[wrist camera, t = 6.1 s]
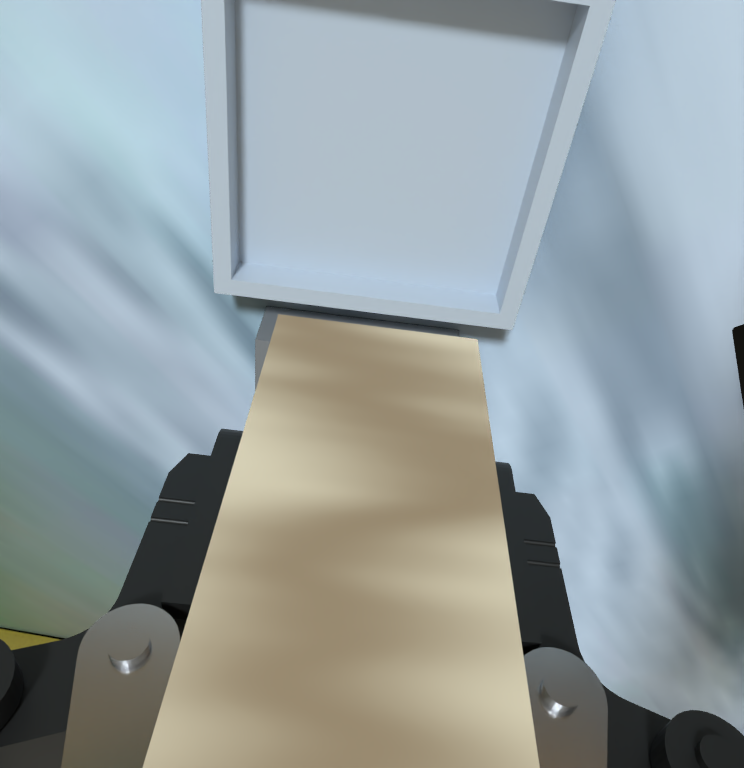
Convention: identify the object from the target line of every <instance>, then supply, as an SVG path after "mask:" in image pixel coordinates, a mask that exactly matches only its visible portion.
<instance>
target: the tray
mask: <svg viewBox="0 0 744 768" xmlns="http://www.w3.org/2000/svg"><path fill="white" fill-rule="evenodd" d="M615 2H616V0H201V11H202V33H203V55H204V77H205V99H206V121H207V143H208V165H209V187H210V209H211V231H212V253H213V275H214V293H220V294H228V295H235V296H243V297H251V298H259V299H267V300H275V301H283V302H291V303H299V304H307V305H315V306H323V307H331V308H339V309H347V310H355V311H363V312H371V313H379V314H387V315H395V316H403V317H411V318H419V319H427V320H435V321H443V322H451V323H459V324H467V325H475V326H483V327H491V328H499V329H507V330H513V327H514V324H515V321H516V317H517V314H518V311H519V308H520V305H521V301H522V298H523V295H524V292H525V289H526V286H527V282H528V279H529V276H530V273H531V270H532V266H533V263H534V260H535V257H536V254H537V250H538V247H539V244H540V241H541V238H542V235H543V231H544V228H545V225H546V222H547V219H548V215H549V212H550V209H551V206H552V203H553V200H554V196H555V193H556V190H557V187H558V184H559V180H560V177H561V174H562V171H563V168H564V164H565V161H566V158H567V155H568V152H569V149H570V145H571V142H572V139H573V136H574V133H575V129H576V126H577V123H578V120H579V117H580V114H581V110H582V107H583V104H584V101H585V98H586V94H587V91H588V88H589V85H590V82H591V78H592V75H593V72H594V69H595V66H596V63H597V59H598V56H599V53H600V50H601V47H602V43H603V40H604V37H605V34H606V31H607V28H608V24H609V21H610V18H611V15H612V12H613V8H614V5H615Z"/></svg>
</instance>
